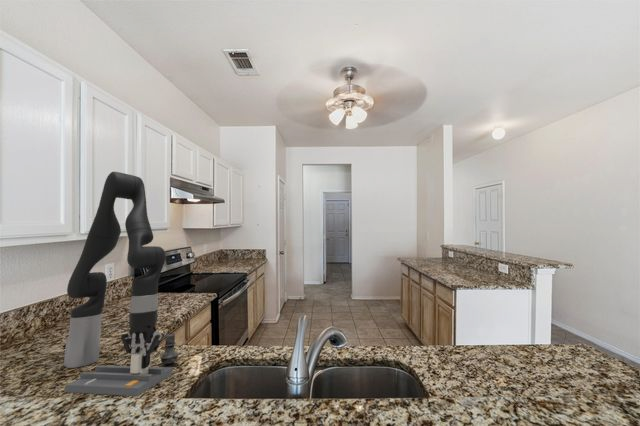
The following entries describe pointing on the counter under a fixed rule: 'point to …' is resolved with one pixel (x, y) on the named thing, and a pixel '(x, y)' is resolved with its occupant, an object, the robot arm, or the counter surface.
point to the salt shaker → (169, 351)
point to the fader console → (117, 380)
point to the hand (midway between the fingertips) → (140, 367)
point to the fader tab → (138, 364)
